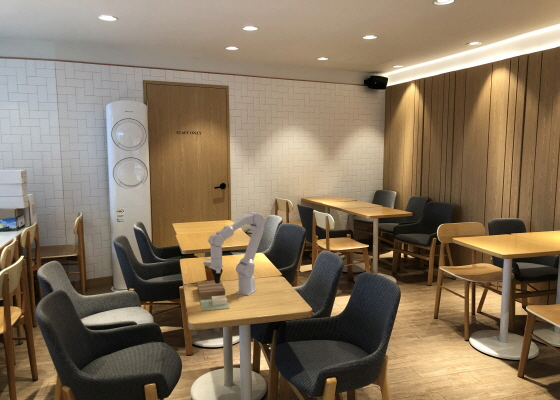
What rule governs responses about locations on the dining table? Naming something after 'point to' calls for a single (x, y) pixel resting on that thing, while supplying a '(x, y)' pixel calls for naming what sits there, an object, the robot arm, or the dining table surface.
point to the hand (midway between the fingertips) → (217, 283)
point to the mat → (211, 305)
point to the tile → (219, 300)
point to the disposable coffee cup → (208, 270)
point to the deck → (210, 289)
